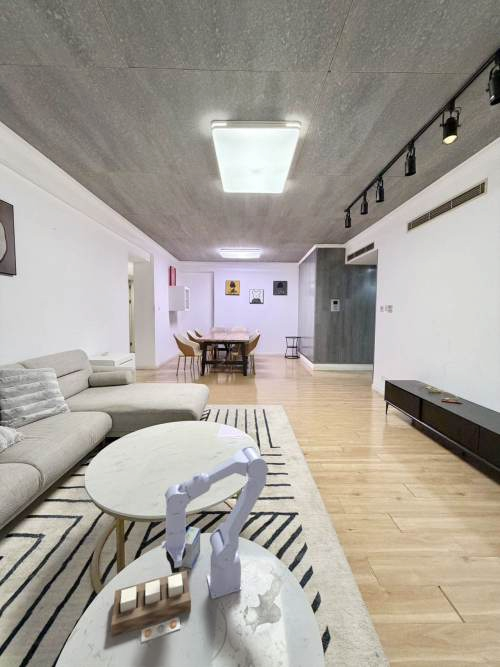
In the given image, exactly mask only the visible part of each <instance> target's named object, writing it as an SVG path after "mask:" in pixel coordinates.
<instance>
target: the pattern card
mask: <svg viewBox="0 0 500 667" xmlns="http://www.w3.org/2000/svg"><path fill="white" fill-rule="evenodd" d="M180 622H181V621H180V617H179V616H178V617H175V618H172V619H169V620H167V621H164V622H160V623H157V624H155V625H152V626H149V627H145V628H143V629H141V634H140V636H141V637H140V638H141V643H145V642H147V641H150V640H151V641H152V640H154V639H156V638H159V637H162V636H164V635H165V636H166V635H169V634H171V633H173V632H177V631H179V630H181V624H180Z"/></svg>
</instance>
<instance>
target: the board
mask: <svg viewBox="0 0 500 667" xmlns="http://www.w3.org/2000/svg"><path fill="white" fill-rule="evenodd" d="M180 573H181V575H182V582H183V594H181V595H178V596H175V597H171V598H169V594H168V577H170V576H173V575H177V574H180ZM156 580H160V601H159V602H155V603H152V604H149V605H146V606H145V583H149V582H152V581H156ZM135 586H136V609H133V610H130V611H126V612H123V613H121V592H122V590H124V589H128V588H131V587H135ZM190 591H191V590H190V584H189V580H188V572H187V570H184V571H179V572H177V573H173V574H172V573H171V574H169V575H165V576H162V577H159V578H155V579H151V580H149V581H145V582H140V583H137V584H134V585H130V586H125V587H123V588H119V589H116V590H114V596H113V598H114V599H113V606H112V617H111V625H110V626H111V627H110V628H111V633H110V634H111V638H113V637H116V636H118V635H122V634H125V633H127V632H131V631H133V630H137V629H140V628H143V627H146V626H149V625H151V624H154V623H158V622H161V621H163V620H167V619H170V618H173V617H176V616H179V615H181V614H182V615H183V614H185V613H187V612H190V611H192V597H191V596H192V595H191V592H190Z"/></svg>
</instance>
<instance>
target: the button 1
mask: <svg viewBox="0 0 500 667" xmlns="http://www.w3.org/2000/svg"><path fill="white" fill-rule="evenodd" d="M133 609H136V586H135V587H131V588H128V589H124V590H122V592H121V613H123V612H126V611H130V610H133Z"/></svg>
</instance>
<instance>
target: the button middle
mask: <svg viewBox="0 0 500 667" xmlns="http://www.w3.org/2000/svg"><path fill="white" fill-rule="evenodd" d="M159 601H160V580H156V581H152V582H149V583H145V606H146V605H149V604H152V603H155V602H159Z"/></svg>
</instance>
